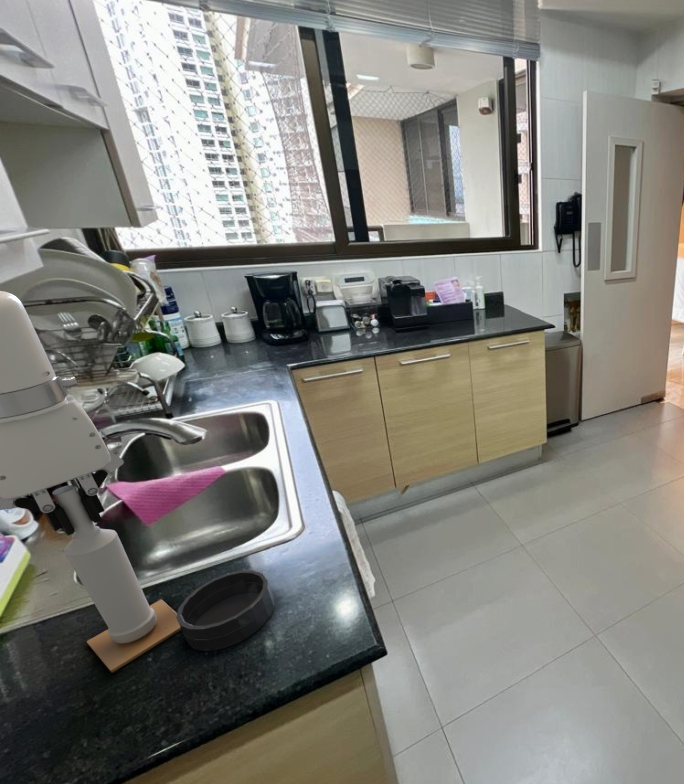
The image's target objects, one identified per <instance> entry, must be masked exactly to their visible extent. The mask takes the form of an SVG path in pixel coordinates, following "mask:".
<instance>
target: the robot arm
mask: <svg viewBox="0 0 684 784" xmlns="http://www.w3.org/2000/svg"><path fill="white" fill-rule="evenodd" d="M76 387H79V382H78V380H77V379H76V377H75V376H74V375H71V376H67V377H65V376H62V377H61V376H59V375H56V373H55V370H54V368H53V365H52V364H51V362H50V360H49V357H48V355H47V352H46V351H45V349H44V347H43V344H42V342H41V340H40V338H39V335H38V333H37V331H36V330H35V327H34V324H33V323H32V320H31V319H30V316H29V315H28V312H27V310H26V308H25V306H24V305H23V302H22V301H21V300H20V299H19V298H18V297H17V296H16V295H14V294H13V293H10V292H8V291H3V290H0V511H3V510H13V509H17V508H18V509H24V510H31V511H37V512H42V513H43V514H44V516H45V518H46V519H47V521H48V523H49V525H50V527H51V529H52V530H53V531H54V532H57V531H60V530H62V531H63V533H65V534H66V535H67V536H72V535H73V534H74V532H75V530H74V528H73V526H72V524H71V522H70V520H69V519H68V517H67V515H66V513H65V511H64V509H63V508H62V507H61V506H59V505H58V503H57V501H56V500H54V499H53V498H52V497H51V495H50V493H49V491H48V489H49V488H53V487H55V486H58V485H61V484H64V483H66V482H69V481H72V480H74V481H75V483H76V485H77V487H78V489H77V491H78V493H79V495H80V497H81V500H82V502H83V504H84V506H85V508H86V510H87V512H88V514H89V516H90V518H91V520H92V522H93V524H100V523H102V522H103V518H102V516H101V513H104V512H105V508H104V506H103V504H102V501H101V500H100V498H99V496H98V493H99V492H100V487H101V486H102V485H103V483H104V482H105V481H106V479H107V477H109V475H110V474H112V473H113V472H115V471H116V470H117V469H119V468H120V467H121V466H123V465H124V463H125V460H123V459H122V458H121V457H120V456H118V455H117V454H115V453H114V452H113V451H111V450H110V449H109V448H108V447H107V444H106V443H105V441H104V439H103V438H102V436H101V434H100V432H99V430H98V429H97V427H96V426H95V424H94V422H93V421H92V419H91V418H90V416H89V415H88V413H87V412H86V410H85V409H84V408H83V406H82V405H81V404H80V402H79V401H78V400H77V399H76V398H75V396H74V395H72V394H67V393H69V392H68V391H69V390H71V389H72V388H76Z"/></svg>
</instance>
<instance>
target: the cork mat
mask: <svg viewBox="0 0 684 784" xmlns="http://www.w3.org/2000/svg"><path fill="white" fill-rule="evenodd" d="M149 607H151V608H153V610H154V611H155V613H156V617H157V620H156V625H155V626H154V627H153V629H152V630H151V631H149V632H148V633H147V634H146V635H144V636H142V637H141V638H139V639H137V640H134V641H131V642H128V643H122V644H121V643H117V642H115V641H114V640H113V639H112V638H111V637H110V635H109V633H108V629H105V630H104V631H102V632H101V633H98V634H97V635H95V636H94V637H91V638H90V639H88V640H86V644H87V645H88V646H89V647H90V649H91V650H92V651H93V652H94V654H95V655H96V656H97V657H98V658H99V660H100V661H101V662H102V663H103V664H104V666H105V667H106V668H107V670H109V671H110V673H114V672H116V671H118V670H119V669H121V668H122V667H125V666H126V665H127V664H130V662H132V661H134V660H136V659H137V658H138V657H140V656H142V655H143V654H145V653H146V652H148V651H150V650H152V649H153V648H154V647H156V646H158V645H159V644H161V643H163V642H164V641H166V640H167V639H170V638H171V637H173V635H176V633H178V632H180V631H182V629H181V627H180V625H179V623H178V621H177V618H176V616H177V613H178V612H177V611H175V610H174V609H173V608H172V607H171V606H169V605H168V604H167V603H166V602H165V601H164V600H163V599H159V600H157V601H156V602H154V603H152V604H149Z"/></svg>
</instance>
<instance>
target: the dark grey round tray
mask: <svg viewBox="0 0 684 784" xmlns="http://www.w3.org/2000/svg"><path fill="white" fill-rule="evenodd" d="M275 605H276V604H275V596H274V594H273V590H272V588H271V586H270V582H269V579H268V578H267V577H266V575H265V573H263V572H260V571H257V570H254V569H252V570H249V569H248V570H247V569H242V570H237V571H232V572H228V573H225V574H223V575H220V576H217V577H215V578H213V579H210V580H209V581H207V582H205V583H204V584H201V586H199V587H197V588H196V589H195V590H194V591H193V592H191V593H190V594H189V595H187V597H186V598H185V599H184V600H183V601H182V603H181V604H180V605H179V607H178V610H177V612H176V613H177V616H176V618H177V621H178V623H179V625H180V627H181V629H182V630H181V631H182V634H183V636H184V638H185V640H186V642H187V645H188V646H189V647H191V649H193V650H196V651H199V652H213V651H218V650H224V649H226V648H229V647H232V646H235V645H236V644H238V643H240V642H242V641H245V640H246V639H248V638H249V637H251V636H253V634H255V633H257V632H258V630H260V629H261V628H262V627H263V626H264V625H265V624H266V623H267V622H268V620H269V619H270V617H272V614H273V612H274V609H275Z"/></svg>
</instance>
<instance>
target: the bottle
mask: <svg viewBox="0 0 684 784" xmlns="http://www.w3.org/2000/svg"><path fill="white" fill-rule="evenodd" d="M52 495H53V497H54V499H55V502H57V503H58V505H59V506H61V507H62V508H63V509H64V511H65V513H66V515H67V517H68V519H69V520H70V522H71V524H72V526H73V528H74V530H75V532H73V534H71V540H70V541H69V543H68V544H67V545H66V546H65V547H64V549H63V553H64V555H65V557H66V559H67V561H68V562H69V564H70V565H71V567H72V569H73V570H74V572H75V574H76V575H77V577H78V579H79V580H80V582H81V584H82V586H83V588H84V589H85V590H86V593H87V594H88V595H89V597H90V599H91V601H92V602H93V604H94V605H95V608H96V609H97V611H98V613H99V614H100V616H101V618H102V619H103V621H104V623H105V624H106V626H107V628H108V629H107V630H108V633H109V635H110V637H111V638H112V639H113V640H114V641H115V642H117V643H121V644H122V643H128V642H131V641H134V640H137V639H139V638H141V637H142V636H144V635H146V634H147V633H148V632H149V631H151V630H152V629H153V627H154V626H155V625H156V620H157V617H156V613H155V611H154V610H153V608H151V607H149V606H150V604H149V602H148V600H147V597H146V595H145V593H144V591H143V588H142V586H141V584H140V581H139V580H138V577H137V574H136V573H135V571H134V569H133V566H132V564H131V562H130V560H129V557H128V555H127V553H126V550H125V548H124V545H123V544H122V541H121V539H120V537H119V535H118V533H117V531H116V530H114V529H108V528H106V529H105V528H101V527H100V526H99V525H95V523H94V522H93V521H92V520H91V518H90V516H89V514H88V512H87V510H86V508H85V506H84V504H83V502H82V500H81V497H80V495H79V493H78V489H77V487H76V485H74V484H69V485H64V486H61V487H58V488H56V489H54V490H53V491H52Z"/></svg>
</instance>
